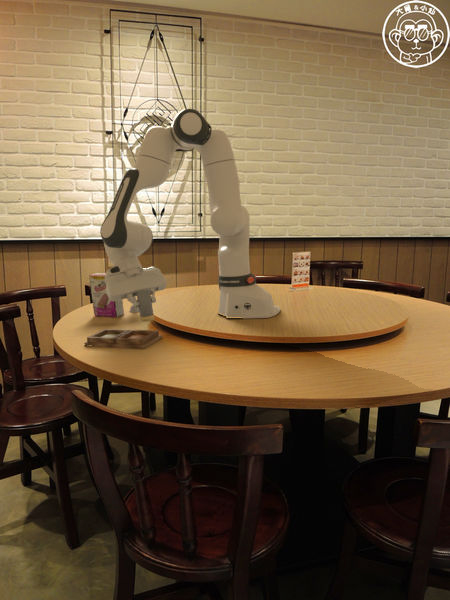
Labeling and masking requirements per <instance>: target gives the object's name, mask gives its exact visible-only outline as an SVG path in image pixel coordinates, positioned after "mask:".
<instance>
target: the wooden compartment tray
mask: <svg viewBox="0 0 450 600" xmlns="http://www.w3.org/2000/svg"><path fill="white" fill-rule="evenodd" d="M162 338H163V334H160V333H159V330H150V329H148V330H147V329H146V330H145V329H125V328H124V329H121V328H119V329H118V328H104V329H102V330H100V331H97V332H96V333H93V334H91V335H89V336H87V337H86V340H87V341H85V342H84V344H85V345H92V346H91V347H95V346H102V347H101V348H117V349H118V348H119V349H136V350H137V349H138V350H145V349H147V348H149V347H150V346H151V345H153V344H155V343H156V342H158V341H159V340H162ZM85 345H84V346H85Z"/></svg>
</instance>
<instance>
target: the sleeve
mask: <svg viewBox="0 0 450 600" xmlns="http://www.w3.org/2000/svg"><path fill="white" fill-rule="evenodd" d="M136 294H137V296H136V300H138V301H139V303H140V305H139V312H138V313H139V321H140V322H142V323H143V322H144V323H145V322H146V323H147V322H152V321H154V320H155V319H156V318H155V313H154V309H153V303H152V301H151V296H152V295H150V289H141V290H137V291H136Z"/></svg>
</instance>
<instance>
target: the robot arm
mask: <svg viewBox="0 0 450 600" xmlns="http://www.w3.org/2000/svg"><path fill="white" fill-rule="evenodd" d="M171 123H172V124H171V125H170V126H168V127H163V126H160V125H159V126H158V125H156V126H155V125H154V126H151V127H149V128H148V129H147V131H146V133H145V135H144V138H143V140H142V142H141V144H140V147H139V151H138V155H137V159H136V161H135V163H134V165H133V166H132V168H130V169H128V170H126V172H125V173H124V176H123V177H122V179H121V182H120V183H119V186H118V188H117V191H116V193H115V197H114V199H113V201H112V204H111V206H110V209H109V211H108V213H107V215H106V217H105V218H104V220H103V222H102V224H101V227H100V231H99V233H100V237H101V240H102V241H103V245H104V246H103V247H104V249H105V250H104V251H105V253H106V255H107V258H108V261H110V263H111V264H112V266H113V267H111V268H109V269H107V270H106V272H105V273H106V275H105V284H106V292H107V295H108V298H109V300H111V301H118V300H122V301H123V300H127V302H129V303H130V304H132V305H134V307H139V305H140V303H139V301H138V300H137V299H136V300H135V299H134V298H133V297H137V294H136V291H137V290H141V289H150V295H151V301H152V304H155V303H156V302H157V298H156V297H155V295H156V292H160V291H164V290H165V289H166V287H167V284H168V282H167V279H166V278H165V276H164V274H163V273H162V271H161V269H160V268H158V267H155V266H150V267H145V268H144V267H143V266H142V264H141V262H140V260H139V257H140V256H142V255H143V254H144V253H145V252H146V251H148V250H149V249H150V247H151V245H152V244H153V240H154V237H153V232H152V229H151V228H150V227H149V226H148V225H147V224H144V223H140V222H137V221H132V220H129V219H128V218H127V217H128V214H129V211H130V210H131V206H132V204H133V201H134V199H135V197H136V195H137V194H138V193H139V192H140V191H142V190H146V189H147V190H148V189H154V188H158V187H160V186H161V185H163V184H164V183H165V182H166V180H167V179H168V176H169V173H170V170H171V165H172V161H173V157H174V154H175V152H181V153H182V152H184V153H185V152H190V151H193V150H196V151H197V152H198V153H199V155H200V158H201V160H202V161H201V162H202V167H203V173H204V176H205V177H204V178H205V181H206V186H207V190H208V203H209V205H208V206H209V213H210V214H209V215H210V220H209V222H210V227H211V229H212V230H213V232H215V234H217V235H219V242H218V250H217V259H218V260H217V262H218V271H219V272H218V273H219V274H218V281H217V282H218V289H219V303H218V305H219V306H218V311H217V313H218V312H219V313H221V314H224V315H225V316H228V317H243V319H267V318H272V317H275V316H277V315H278V314H279V313H280V311H281V308H280V306H279V305H275V304H274V299H273V297H272V294H271V293H270V292H269V291H267V290H265V288H262V287H261V286H260V285H259V284H257V274H255V275H254V274H253V273H251V267H250V252H249V251H250V214H249V211H248V210H247V208H246V207H245V206H244V205H242V203H241V192H240V189H241V188H240V186H241V185H240V179H239V174H238V168H237V165H236V159H235V155H234V152H233V148H232V145H231V142H230V139H229V137H228V135H227V134H226V132H225V131H224V130H221V129H212V126H211V124H210V123H209V122H208V121H207V120H206V118H205V117H204V116H203V115H202V114H201V112H199V111H198V110H196V109H194V108H185V109H182V110H181V111H178V113H177V114H176V115H175V117H174V119H173V120H172V122H171Z"/></svg>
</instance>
